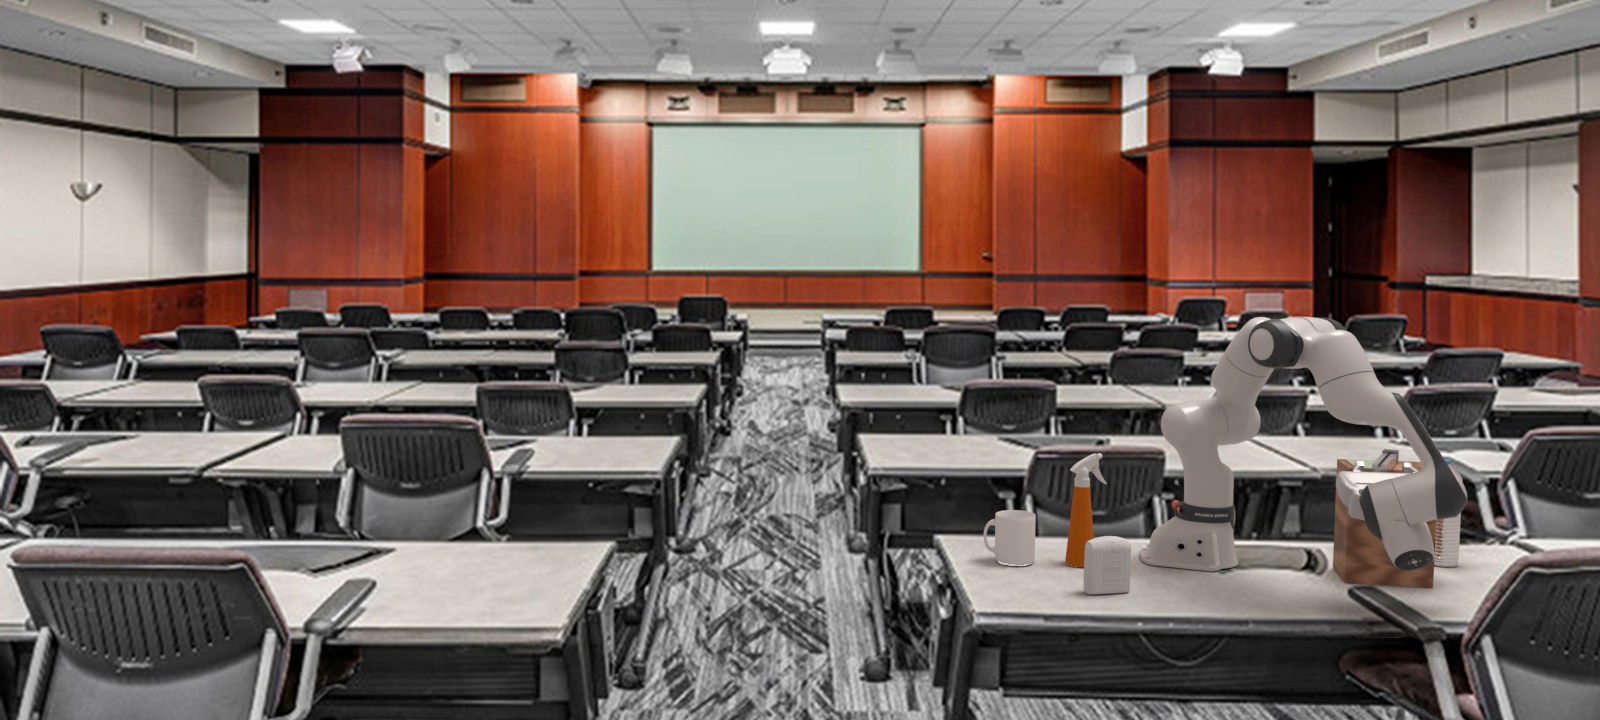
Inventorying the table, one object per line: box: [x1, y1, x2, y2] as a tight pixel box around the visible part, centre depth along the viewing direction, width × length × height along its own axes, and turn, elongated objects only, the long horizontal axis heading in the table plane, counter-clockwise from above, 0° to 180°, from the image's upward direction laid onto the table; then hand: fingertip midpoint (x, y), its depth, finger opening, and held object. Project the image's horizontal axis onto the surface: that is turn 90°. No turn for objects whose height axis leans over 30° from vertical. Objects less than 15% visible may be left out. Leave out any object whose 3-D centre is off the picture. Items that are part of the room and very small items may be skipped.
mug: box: [983, 509, 1036, 565], centre depth 273 cm, size 10×12×12 cm
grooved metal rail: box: [1372, 448, 1400, 473], centre depth 252 cm, size 20×3×3 cm, turn 146°
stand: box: [1332, 458, 1436, 589], centre depth 258 cm, size 18×12×26 cm, turn 77°
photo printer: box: [1083, 535, 1132, 595], centre depth 248 cm, size 10×4×12 cm, turn 103°
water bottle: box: [1434, 458, 1464, 568], centre depth 269 cm, size 7×7×25 cm
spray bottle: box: [1064, 452, 1108, 567], centre depth 271 cm, size 7×11×26 cm, turn 116°
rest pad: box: [1344, 458, 1377, 469], centre depth 257 cm, size 7×11×1 cm, turn 167°
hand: (1382, 463), depth 246 cm, fingers open, 8 cm apart
